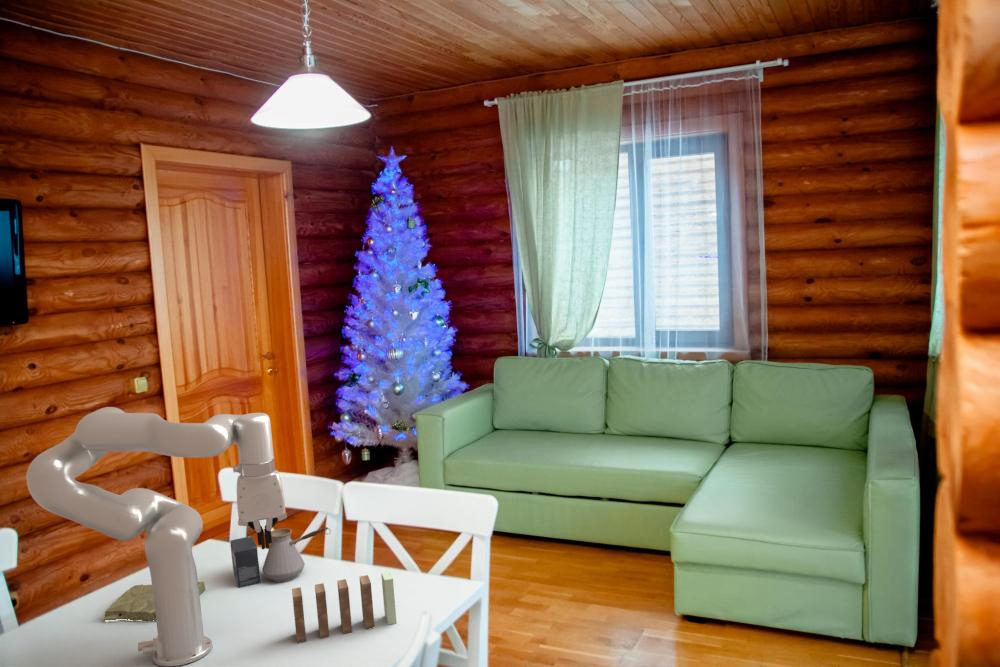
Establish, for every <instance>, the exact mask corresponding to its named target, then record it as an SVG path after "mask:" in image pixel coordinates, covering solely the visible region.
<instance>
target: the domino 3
mask: <svg viewBox="0 0 1000 667" xmlns="http://www.w3.org/2000/svg"><path fill="white" fill-rule="evenodd" d="M336 581H337V592H338V604H339V617H340V626H341V629H342V633H343V634H342V635H346V634H349V633H353V625H352V616H351V615H352V614H351V604H350V592H349V590H350V589H349V585H348V582H347V579H339V580H336Z"/></svg>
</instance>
